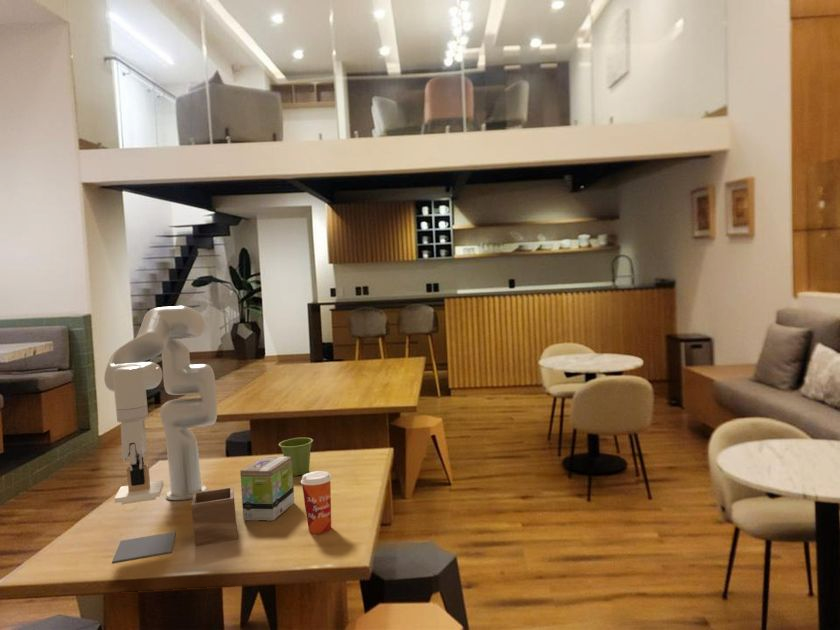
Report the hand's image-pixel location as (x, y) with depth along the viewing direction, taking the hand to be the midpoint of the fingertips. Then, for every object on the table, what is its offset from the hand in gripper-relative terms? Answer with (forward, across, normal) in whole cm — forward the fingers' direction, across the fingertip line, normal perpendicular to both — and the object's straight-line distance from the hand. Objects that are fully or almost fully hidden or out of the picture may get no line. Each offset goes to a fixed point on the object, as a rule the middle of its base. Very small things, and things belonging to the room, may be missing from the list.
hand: (138, 482), depth 171 cm
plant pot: (+17, -47, +45) cm, 68 cm away
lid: (+4, 0, 0) cm, 4 cm away
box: (+17, 0, +18) cm, 25 cm away
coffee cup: (+18, +9, +45) cm, 49 cm away
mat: (+18, 0, 0) cm, 18 cm away
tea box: (+18, -12, +33) cm, 39 cm away
